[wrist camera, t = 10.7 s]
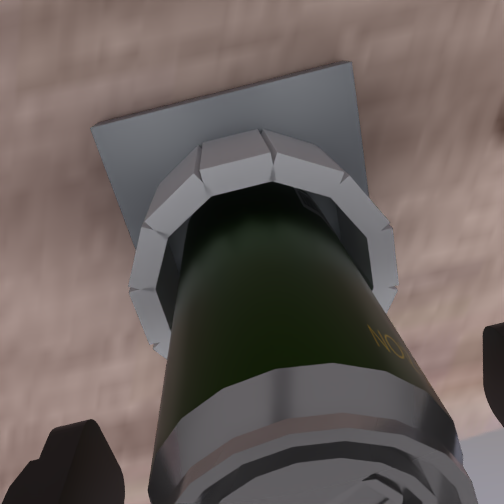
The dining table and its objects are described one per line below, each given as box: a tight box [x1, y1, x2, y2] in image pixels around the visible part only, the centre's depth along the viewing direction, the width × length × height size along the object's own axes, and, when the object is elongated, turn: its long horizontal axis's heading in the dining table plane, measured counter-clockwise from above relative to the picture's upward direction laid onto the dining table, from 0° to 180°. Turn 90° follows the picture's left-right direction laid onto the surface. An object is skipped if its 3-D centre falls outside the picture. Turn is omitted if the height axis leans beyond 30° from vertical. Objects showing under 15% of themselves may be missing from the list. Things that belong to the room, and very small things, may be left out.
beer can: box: [148, 181, 478, 504], centre depth 12 cm, size 5×5×12 cm
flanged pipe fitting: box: [90, 61, 399, 359], centre depth 17 cm, size 11×9×5 cm
